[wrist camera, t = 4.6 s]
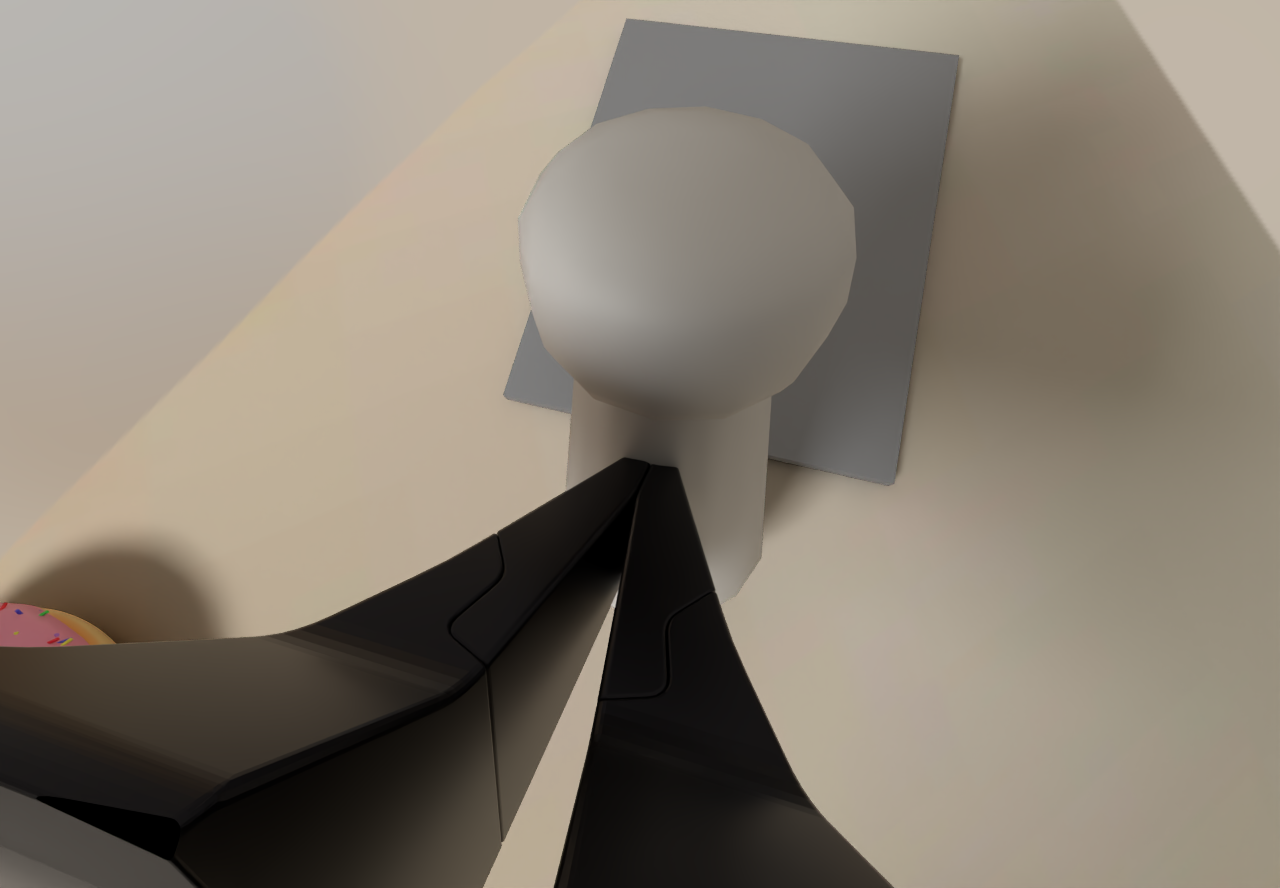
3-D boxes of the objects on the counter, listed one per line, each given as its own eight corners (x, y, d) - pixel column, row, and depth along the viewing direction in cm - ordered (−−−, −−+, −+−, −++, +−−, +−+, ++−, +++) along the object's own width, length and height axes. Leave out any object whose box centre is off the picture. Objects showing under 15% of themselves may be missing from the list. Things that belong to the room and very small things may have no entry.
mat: (888, 485, 17) (894, 483, 17) (507, 399, 19) (503, 395, 19) (952, 66, 21) (959, 55, 21) (627, 29, 23) (626, 18, 23)
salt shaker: (785, 555, 17) (1069, 185, 6) (655, 680, 15) (688, 507, 4) (665, 439, 19) (695, 10, 8) (540, 536, 17) (341, 156, 6)
